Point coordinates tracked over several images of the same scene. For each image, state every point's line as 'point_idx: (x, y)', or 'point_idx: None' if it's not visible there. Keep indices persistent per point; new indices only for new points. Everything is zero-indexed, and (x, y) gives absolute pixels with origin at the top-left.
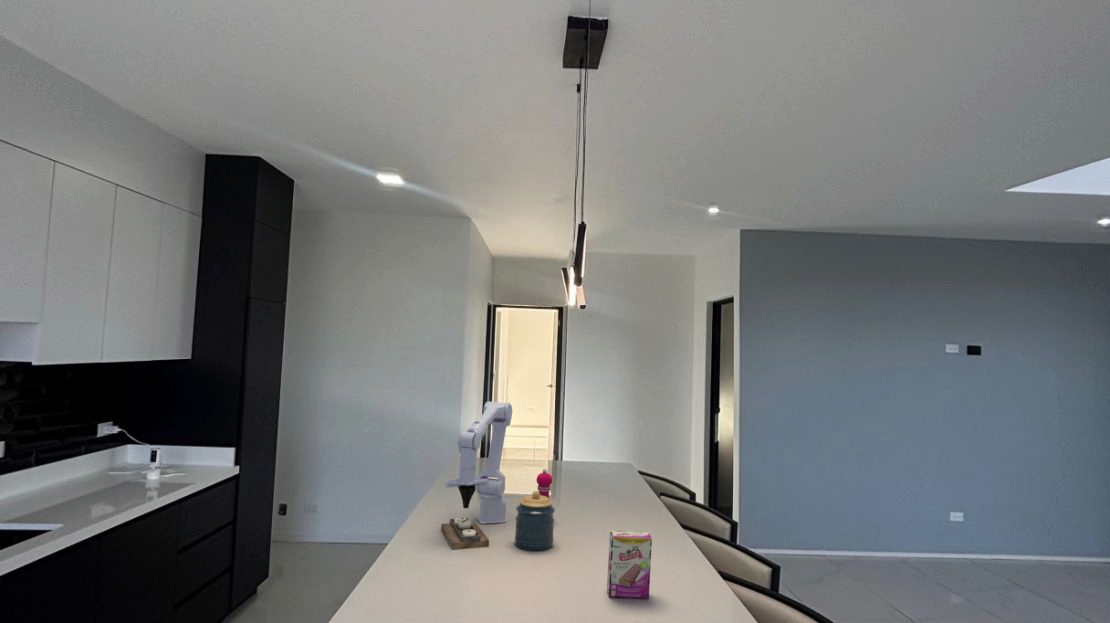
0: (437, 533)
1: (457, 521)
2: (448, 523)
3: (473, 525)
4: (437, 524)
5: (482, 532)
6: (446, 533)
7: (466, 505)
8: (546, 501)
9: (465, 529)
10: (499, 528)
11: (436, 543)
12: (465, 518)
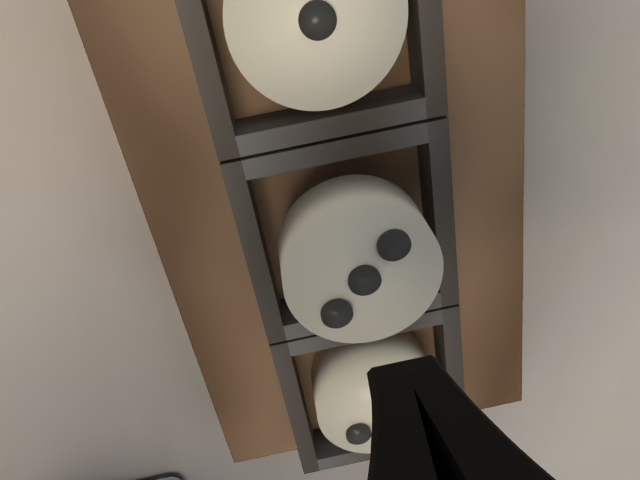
0: (546, 291)
1: None
2: None
3: (245, 376)
4: None
5: (145, 192)
6: (519, 192)
7: (419, 387)
8: None
9: None
10: (8, 408)
11: (613, 43)
12: (329, 435)
